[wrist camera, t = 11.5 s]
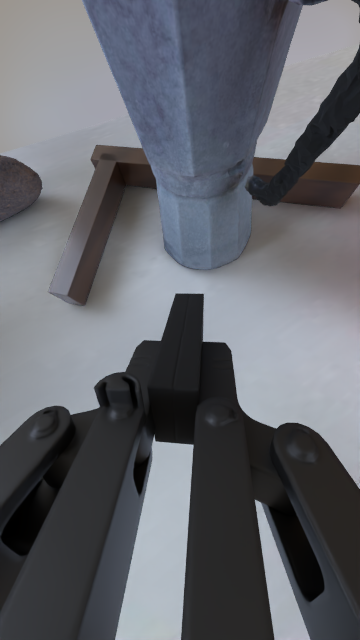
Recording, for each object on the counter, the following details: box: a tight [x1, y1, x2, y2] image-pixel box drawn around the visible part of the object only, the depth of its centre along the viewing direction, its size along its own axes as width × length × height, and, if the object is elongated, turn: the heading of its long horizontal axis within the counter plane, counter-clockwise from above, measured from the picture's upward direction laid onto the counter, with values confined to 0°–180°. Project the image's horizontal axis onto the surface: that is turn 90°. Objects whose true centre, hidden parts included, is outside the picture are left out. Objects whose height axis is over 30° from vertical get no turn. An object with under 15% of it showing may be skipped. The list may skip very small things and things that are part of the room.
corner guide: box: [48, 145, 360, 306], centre depth 22 cm, size 26×17×3 cm, turn 77°
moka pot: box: [82, 0, 360, 269], centre depth 14 cm, size 10×15×20 cm, turn 44°
